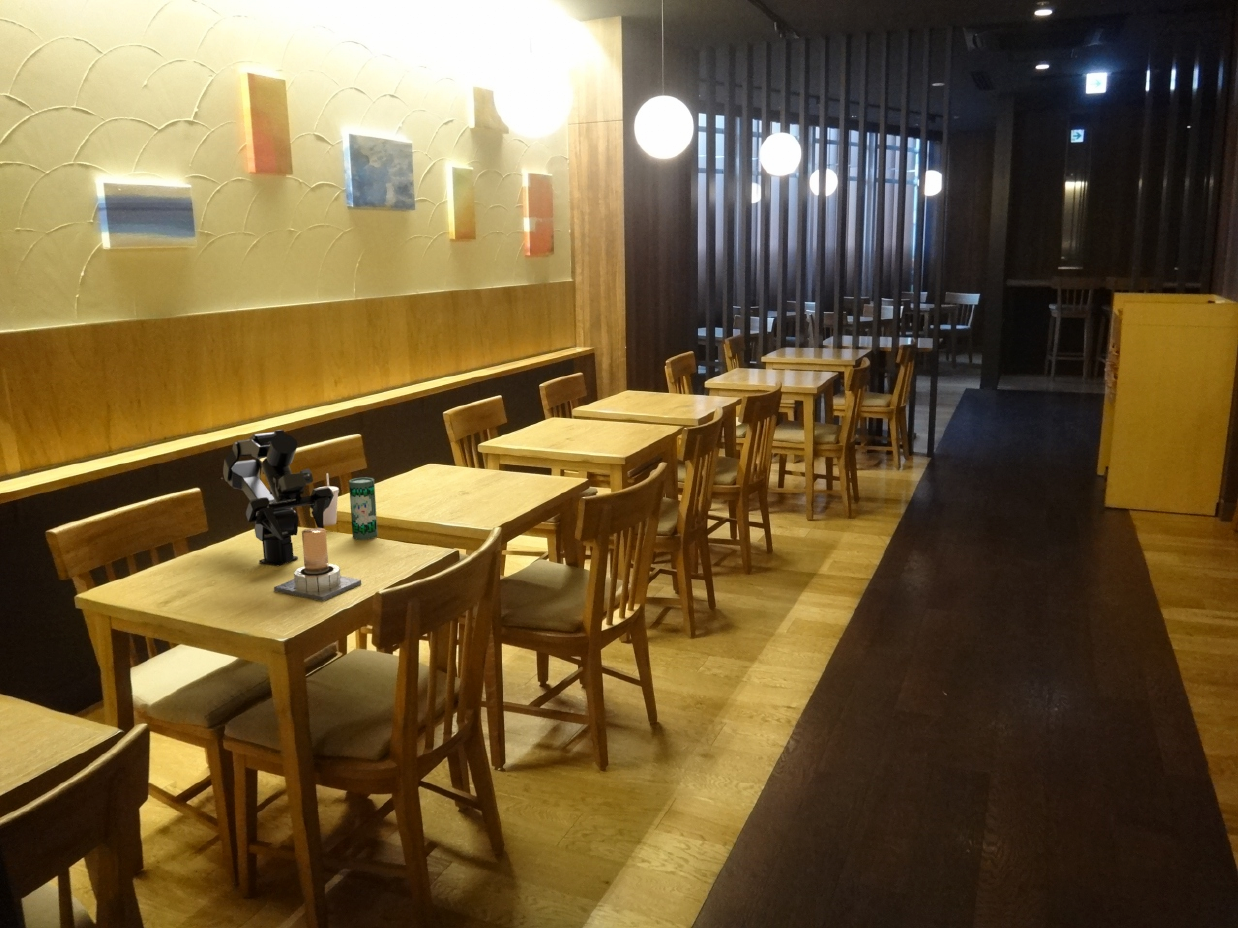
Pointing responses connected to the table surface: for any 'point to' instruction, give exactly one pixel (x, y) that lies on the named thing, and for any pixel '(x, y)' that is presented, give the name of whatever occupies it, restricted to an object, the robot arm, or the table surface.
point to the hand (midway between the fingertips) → (302, 535)
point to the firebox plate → (320, 593)
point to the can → (363, 508)
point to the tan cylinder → (315, 551)
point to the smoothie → (331, 506)
